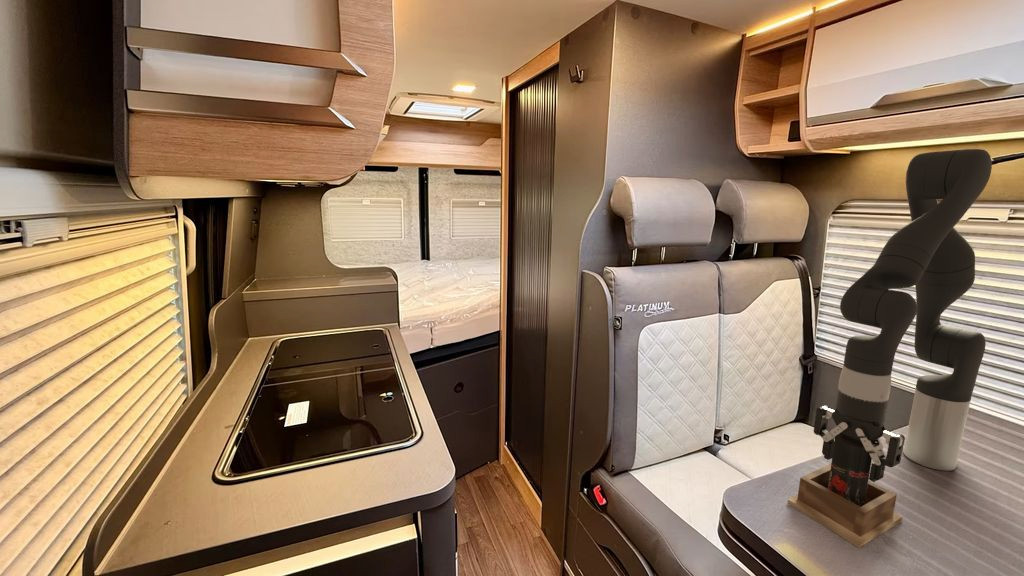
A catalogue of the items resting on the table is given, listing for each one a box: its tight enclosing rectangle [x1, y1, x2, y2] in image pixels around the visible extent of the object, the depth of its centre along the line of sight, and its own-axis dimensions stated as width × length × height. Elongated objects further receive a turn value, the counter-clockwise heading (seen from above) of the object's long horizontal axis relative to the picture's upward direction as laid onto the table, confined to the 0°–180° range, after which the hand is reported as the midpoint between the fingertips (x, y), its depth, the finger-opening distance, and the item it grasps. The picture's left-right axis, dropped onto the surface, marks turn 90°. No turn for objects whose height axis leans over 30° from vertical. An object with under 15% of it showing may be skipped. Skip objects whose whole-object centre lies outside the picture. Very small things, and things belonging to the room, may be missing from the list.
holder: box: [787, 463, 903, 549], centre depth 86 cm, size 15×13×6 cm
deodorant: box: [828, 434, 873, 507], centre depth 85 cm, size 6×6×15 cm
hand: (850, 468), depth 85 cm, fingers open, 7 cm apart
